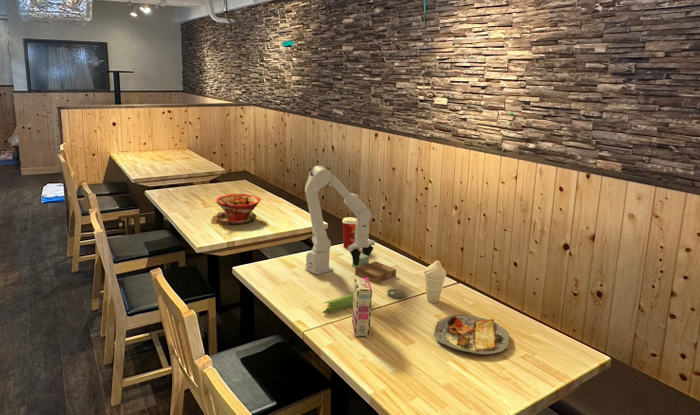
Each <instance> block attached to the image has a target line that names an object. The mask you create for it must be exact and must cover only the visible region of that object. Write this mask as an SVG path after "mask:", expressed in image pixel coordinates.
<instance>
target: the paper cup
mask: <svg viewBox="0 0 700 415" xmlns="http://www.w3.org/2000/svg"><path fill="white" fill-rule="evenodd" d="M341 222H342V234H343V235H342V236H343V237H342V238H343V239H342V240H343V241H342V243H343V248H344V249H346V250H348V246H350V245H352V244H353V243H355V231H356V217H350V216H349V217H344V218H343V219H342V221H341Z"/></svg>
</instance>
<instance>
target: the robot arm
mask: <svg viewBox="0 0 700 415" xmlns="http://www.w3.org/2000/svg"><path fill="white" fill-rule="evenodd" d="M305 183H306V184H305V187H304V193H305V198H306V201H307V207H308V211H309V212H308V213H309V216H310V221H311V226H312V230H311V231H312V236H311V242H312V243H313V246H312V249H311V251H309V252H308V253H307V254H306V259H305V262H306V264H305V268H304V270H306V271H307V272H310V273H312V274H314V275H316V276H317V275H320V274H324V273H328V272H330V271H333V270H334V268H332V267H330V251H331V250H330V249H331V247H332V241H331V240H330V239H329V238H328V233H327V230H326V228H325V224H324V218H323V212H322V209H321V203H320V202H321V201H320V198H319V191H320V190H321V189H322V188H324V187H325V186H330V187H333V188H334V189H335V190H336V191H337V192H338V193H339V195H341V196H342V197H343V203H344V204H345V205H346V207H348V209H349V210H350V211H351V212H352V213H353V214H354V216H355V218H356V231H355V243H353V244H352V245H350V246H348V249H347V251H348V252H349V253H350V255H351V258H352V263H353V262H354V265H356V266H358V264H359V257H360V254H361V253H362V254H365V255H367V256H369V257H370V256H371V254H372V252H373V250H374V247H373V246H375V244H376V243H375V242H376V240H373V239H369V233H370V220H371V219H372V217H373V214H372V212H371V210H370V209H369V208H368V207H367V206H366V203H365V202H363V201H362V200H361V199H360V196H359V194H357V193H356V194H355V193H354V192H350V191H349V190H348V189H347V188H346V187H345V185H344V184H343V183H342V182H341V181H340V180H339V179H338V177H336V176H335V175H334V174H333V173H331V172H330V171H329V170H328V169H326V168H325V167H324V166H323V165H315V166H314V167H313V168H311V170H310V171H309V172H308V178H307V180H306V182H305ZM359 249H361V251H360V250H359Z"/></svg>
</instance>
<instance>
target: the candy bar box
mask: <svg viewBox="0 0 700 415" xmlns="http://www.w3.org/2000/svg"><path fill="white" fill-rule="evenodd" d="M353 279H354V280H353V281H354V285H353V293H354V295H353V307H352V314H351V316H352V319H351V323H352V329H353V335H354V337H355V338H357V337H358V338H369V337H370V326H371V313H372V312H371V311H372V298H373V296H372V295H373V289H372V286H371V283H370V282H371V281H370V280H369V279H368V278H367V277H360V276H355V277H354V278H353Z"/></svg>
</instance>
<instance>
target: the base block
mask: <svg viewBox="0 0 700 415" xmlns="http://www.w3.org/2000/svg"><path fill="white" fill-rule="evenodd" d="M354 268H355V267H354ZM354 274H355V275H357V277H367V278H368V279H369V282H372V283H373V284H378V283H380V282H383V281H386V280H389V279H391V278H395V277H396V276H397V269H396V268H393V267H390V266H388V265H386V264H383V263H382V262H378V261H376V260H375V261H373V262H369V264H365V265H362V266H359V267H356V268H355V272H354Z"/></svg>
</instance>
